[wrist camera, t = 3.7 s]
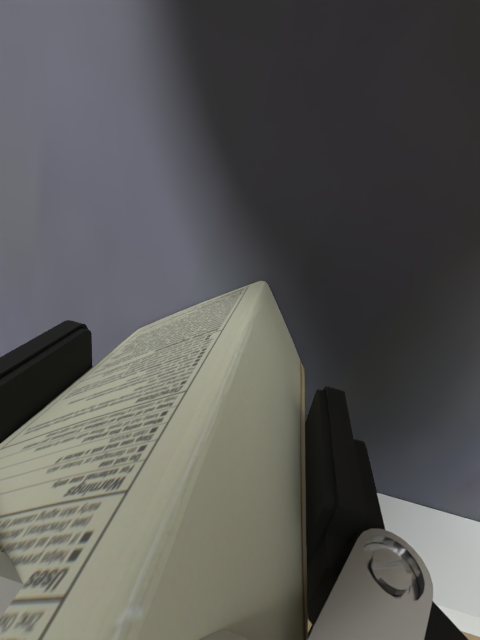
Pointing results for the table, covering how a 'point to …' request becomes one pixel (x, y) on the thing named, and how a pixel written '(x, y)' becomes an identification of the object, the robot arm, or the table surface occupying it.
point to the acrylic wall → (442, 555)
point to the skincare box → (166, 486)
